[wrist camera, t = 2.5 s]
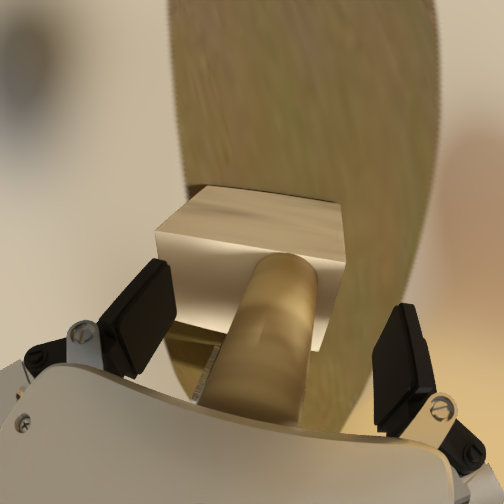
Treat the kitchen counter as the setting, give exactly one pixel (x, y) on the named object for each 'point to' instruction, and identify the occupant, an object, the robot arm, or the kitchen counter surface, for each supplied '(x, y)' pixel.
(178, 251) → the wooden block with peg
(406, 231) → the kitchen counter surface
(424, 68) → the kitchen counter surface
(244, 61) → the kitchen counter surface
